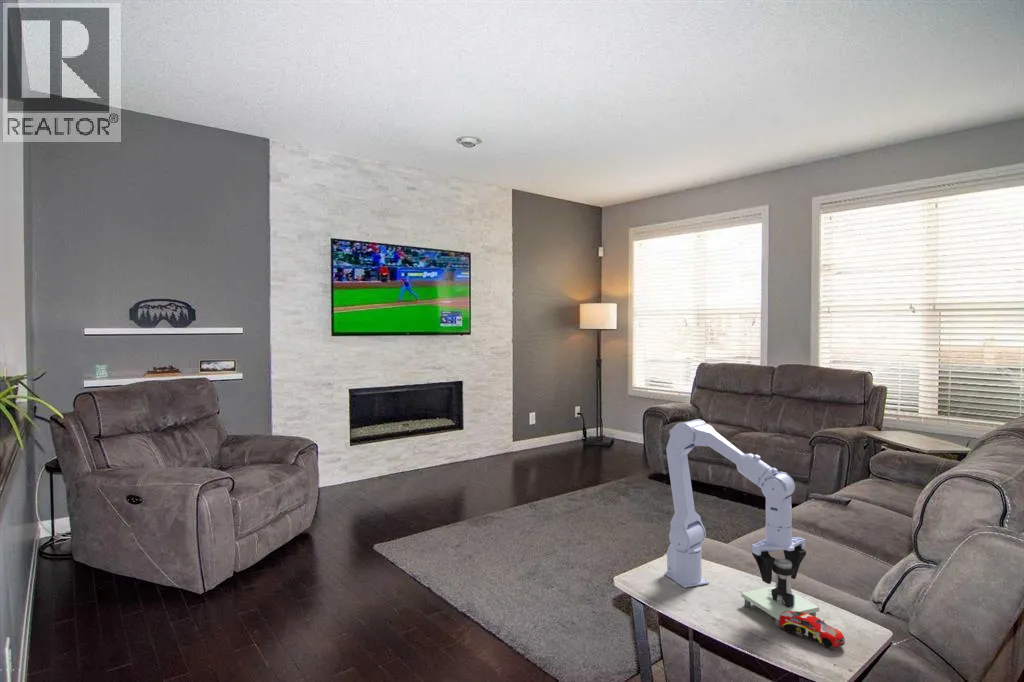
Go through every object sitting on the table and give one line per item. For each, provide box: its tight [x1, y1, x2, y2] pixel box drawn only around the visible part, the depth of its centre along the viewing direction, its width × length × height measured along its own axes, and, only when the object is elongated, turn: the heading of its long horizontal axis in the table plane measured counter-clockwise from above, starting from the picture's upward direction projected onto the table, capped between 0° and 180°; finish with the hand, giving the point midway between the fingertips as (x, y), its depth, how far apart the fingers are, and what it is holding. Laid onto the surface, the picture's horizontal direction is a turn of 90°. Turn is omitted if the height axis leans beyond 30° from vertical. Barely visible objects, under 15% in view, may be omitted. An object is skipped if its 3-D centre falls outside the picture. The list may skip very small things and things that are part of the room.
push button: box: [768, 557, 796, 608], centre depth 131 cm, size 7×5×10 cm
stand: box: [740, 585, 820, 629], centre depth 132 cm, size 12×12×3 cm
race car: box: [779, 611, 846, 649], centre depth 121 cm, size 13×5×4 cm, turn 37°
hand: (779, 579), depth 132 cm, fingers open, 7 cm apart
